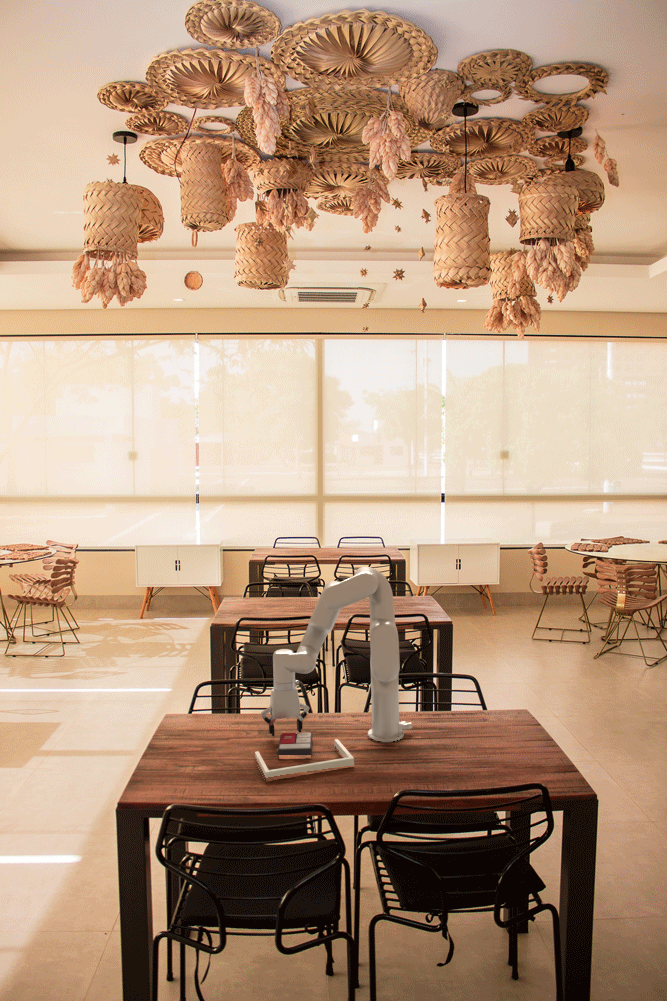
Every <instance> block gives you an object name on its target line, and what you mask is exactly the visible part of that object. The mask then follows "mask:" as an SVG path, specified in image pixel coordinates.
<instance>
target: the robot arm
mask: <svg viewBox="0 0 667 1001" xmlns="http://www.w3.org/2000/svg"><path fill="white" fill-rule="evenodd" d="M318 598H319V599H318V600H317V602H316V605H315V607H314V609H313V611H312V614H311V616H310V618H309V621H308V625H307V628H306V630H305V632H304V634H303V636H302V639H301V640H300V643H299V645H298V648H297V650H296V652H294V651H293V650H292V649H289V648H281V649H277V650H275V651H274V652H273V654H272V667H273V671H272V672H273V675H272V676H273V688H271V689H270V690H271V691H270V696H269V697H270V698H269V700H270V701H269V706H268V707H267V708H266V709H264V710H262V711H261V712H260V715H261V717H262V719H263V721H265V722H266V723H267V724H268V733H269V734H270V735H271V734H272V735H271V736H273V737H275V725H274V723H275V722H276V720H284V719H290V718H297V719H296V730H297V731H298V732H297V733H300V732H301V733H302V730H303V721H304V720H305V718H306V717H307V715H308V712H309V710H310V707H309V705H307V704H304V703H301V702H300V698H299V691H298V687H297V685H300V681H299V680H296V673H297V674H305V675H306V674H309V673H312V672H313V671H314V669H315V668H316V665H317V658H318V656H319V654H320V652H321V649H322V648H323V647H322V646H323V644H324V642H325V640H326V638H327V636H328V635H329V634H330V633H331V632H332V630H333V629H334V627H335V623H336V622H337V619H338V618H339V615H340V613H341V610H342V609H344V608H346V607H349V606H351V605H353V604H356V603H358V602H360V601H362V600H365V599H367V598H368V604H369V606H368V607H369V617H370V618H369V645H370V659H369V660H370V661H369V663H370V685H371V686H370V688H371V689H370V690H371V692H370V693H371V694H370V695H371V728H370V729H369V730H367V737H368V736H369V737H370V738H372V739H374V740H377V741H382V742H381V743H394V742H393V741H395V742H398V741H400V739H401V740H402V739H403V738H404V736H405V732H404V731H405V730H408V729H413V723H412V722H406V721H400V702H399V701H400V698H399V696H400V695H399V694H400V693H399V673H400V663H401V662H400V644H399V643H400V641H399V633H398V632H399V631H398V628H397V626H396V624H397V623H396V618H395V615H396V614H395V604H394V603H395V602H394V594H393V590H392V586H391V584H390V583H389V580H388V579H387V577H385V575H384V574H383V573H382V572H380V571H379V570H378V569H376V568H373V567H370V566H361V567H359V568H358V569H357V570H355V573H354V574H353V576H351V577H349V578H347V579H344V580H342V581H338V580H331V581H329V582H327V583H326V584H325V585H324V587H323V589H322V592H321V594H320V596H319V597H318ZM301 709H303V711H302V712H301ZM268 714H270V717H267V715H268ZM369 737H368V738H369ZM370 738H369V739H370ZM374 740H373V741H374ZM397 740H398V741H397ZM377 741H376V742H377Z"/></svg>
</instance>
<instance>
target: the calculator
mask: <svg viewBox="0 0 667 1001" xmlns="http://www.w3.org/2000/svg"><path fill="white" fill-rule="evenodd" d="M312 738H313V733H311V732H310V731H309V732H308V731H307V732H301V733H300V732H297V733H296V732H282V733H281V734H280V737H279V741H278V746H277V747H278V748H277V756H278V755H312V756H313V743H312Z"/></svg>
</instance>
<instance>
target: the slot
mask: <svg viewBox="0 0 667 1001" xmlns="http://www.w3.org/2000/svg"><path fill="white" fill-rule="evenodd" d="M333 743H334V747H335V746H336V748H337V749H338V750H339V752H340V753H341V754H342V755H343V757H344V758H342V757H341V758H335V759H330V760H329V759H328V760H325V761H324V760H323V761H318V762H311V763H304V764H299V765H298V764H297V765H294V766H287V767H280V768H275V769H274V768H273V769H269V768H268V767H267V765H266V762H265V761H264V759H263V757H262V755H261V754H260V751H258V750H257V751H255V752H254V758H255V757H256V759H257V761H258V763H259V765H260V767H261V769H262V771H263V773H264V775H265V777H266V778H268V777H274V776H280V775H286V774H294V773H298V772H307V771H314V770H322V769H328V768H335V767H344V766H351V765H354V766H355V757H354V756H353V755H352V754H351V753H350V751H349V750H348V749H347V748H346V747H345V746H344V745H343V743H342V742H341V741H340V740H339V739H338V738H335V739H334V742H333Z"/></svg>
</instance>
